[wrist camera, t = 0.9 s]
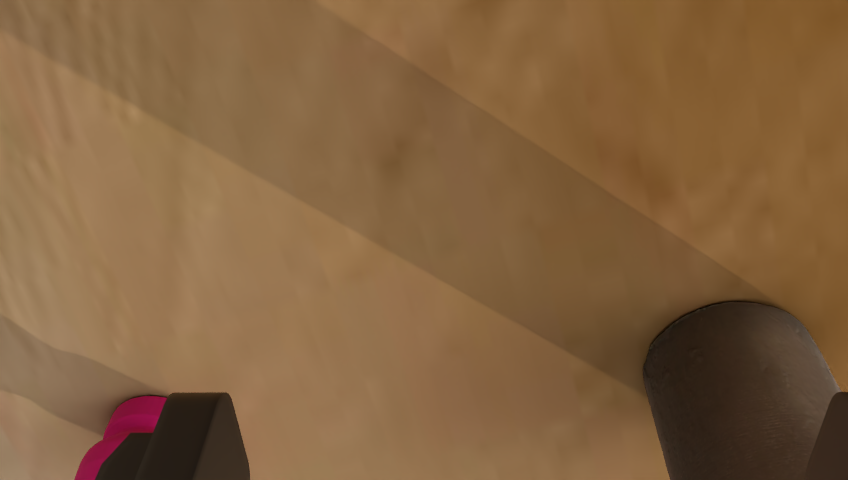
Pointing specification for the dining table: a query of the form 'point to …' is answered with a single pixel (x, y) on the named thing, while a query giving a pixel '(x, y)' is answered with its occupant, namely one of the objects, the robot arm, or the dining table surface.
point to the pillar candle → (737, 394)
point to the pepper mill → (121, 431)
